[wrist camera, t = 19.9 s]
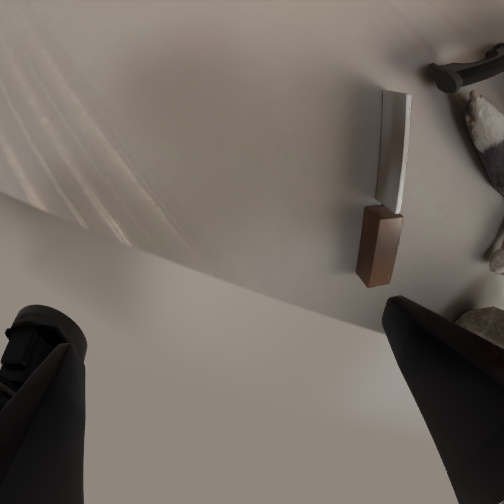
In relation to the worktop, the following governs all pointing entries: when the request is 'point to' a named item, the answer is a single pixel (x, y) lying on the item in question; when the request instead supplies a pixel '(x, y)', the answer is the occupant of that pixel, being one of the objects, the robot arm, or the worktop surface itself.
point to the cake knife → (386, 194)
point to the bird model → (487, 136)
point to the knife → (468, 71)
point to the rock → (485, 324)
